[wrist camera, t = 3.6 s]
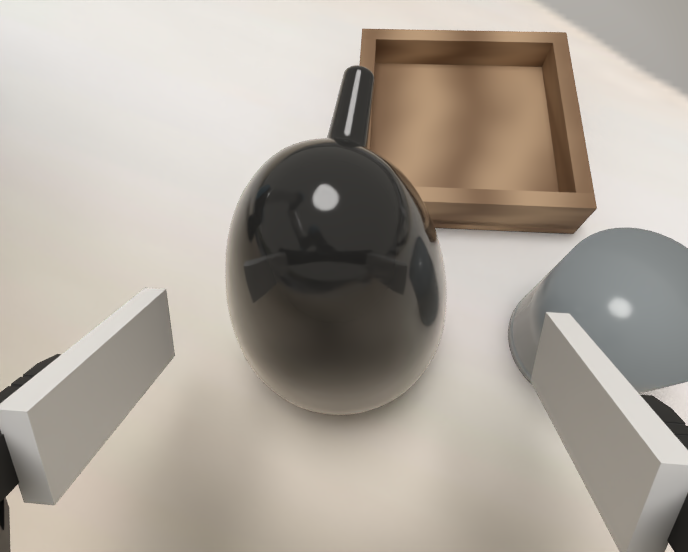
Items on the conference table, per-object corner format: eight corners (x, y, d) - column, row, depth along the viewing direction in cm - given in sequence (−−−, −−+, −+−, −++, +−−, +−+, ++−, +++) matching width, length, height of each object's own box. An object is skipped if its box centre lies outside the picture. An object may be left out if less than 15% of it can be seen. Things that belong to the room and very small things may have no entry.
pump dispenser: (442, 265, 27) (528, 58, 13) (415, 441, 23) (497, 410, 9) (283, 236, 28) (208, 17, 14) (233, 399, 25) (65, 316, 11)
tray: (350, 223, 29) (349, 198, 26) (362, 64, 34) (362, 28, 31) (573, 233, 28) (596, 208, 25) (549, 68, 33) (566, 32, 30)
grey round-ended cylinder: (513, 401, 24) (570, 378, 18) (503, 282, 27) (550, 224, 20) (646, 409, 24) (754, 389, 17) (622, 287, 26) (708, 230, 20)
